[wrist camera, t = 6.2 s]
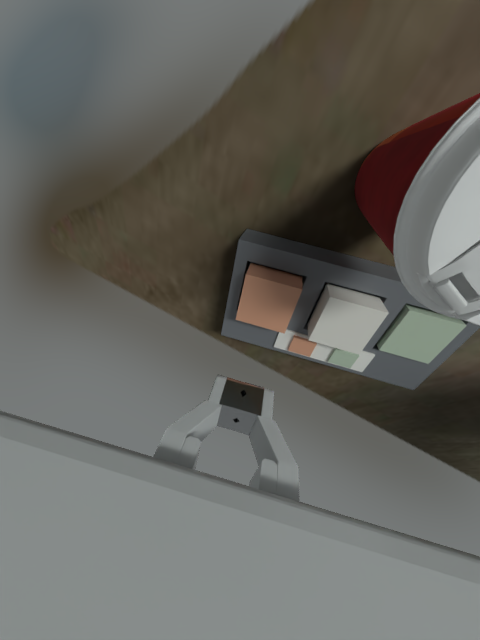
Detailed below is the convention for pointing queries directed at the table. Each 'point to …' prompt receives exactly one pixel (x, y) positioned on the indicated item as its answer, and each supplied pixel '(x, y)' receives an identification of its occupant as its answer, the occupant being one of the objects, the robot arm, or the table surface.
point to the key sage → (419, 333)
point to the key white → (345, 318)
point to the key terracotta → (269, 297)
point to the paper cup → (430, 207)
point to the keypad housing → (316, 273)
